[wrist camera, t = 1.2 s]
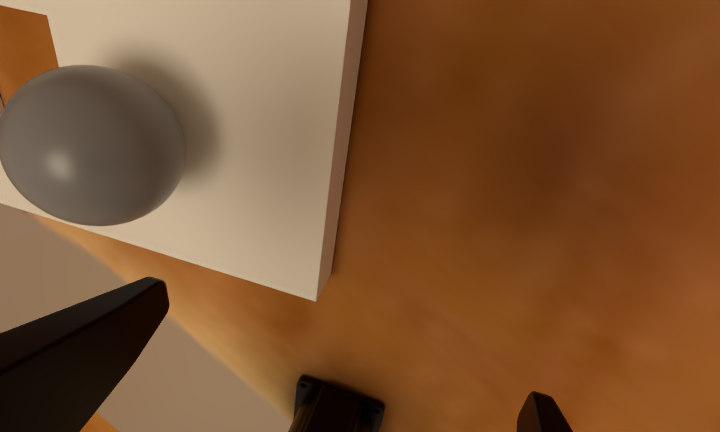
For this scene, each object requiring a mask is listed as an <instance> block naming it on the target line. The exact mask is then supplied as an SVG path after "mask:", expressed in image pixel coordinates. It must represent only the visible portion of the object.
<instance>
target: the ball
mask: <svg viewBox="0 0 720 432" xmlns="http://www.w3.org/2000/svg"><path fill="white" fill-rule="evenodd" d="M185 160H186V145H185V138H184V135H183V131H182V128H181V126H180V123H179V121H178V119H177V117H176V115H175V114H174V112H173V110H172V109H171V108H170V106H169V105H168V104H167V102H166V101H165V100H164V99H163V98H162V97H161V96H160V95H159V94H158V93H157V92H156V91H155V90H153V89H152V88H151V87H150V86H148V85H147V84H145V83H144V82H142V81H140V80H139V79H137V78H135V77H133V76H131V75H129V74H126V73H124V72H121V71H118V70H115V69H112V68H107V67H102V66H96V65H70V66H64V67H58V68H55V69H51V70H48V71H46V72H44V73H41V74H39V75H37V76H35V77H33V78H32V79H30V80H29V81H28V82H26V83H25V84H23V85H22V86H21V87H19V88H18V90H17V91H16V92H15V93H14V94H13V95H12V96H11V98H10V99H9V100H8V102H7V104H6V105H5V107H4V109H3V111H2V113H1V116H0V161H1V164H2V167H3V169H4V171H5V173H6V175H7V177H8V178H9V180H10V181H11V183H12V184H13V186H14V187H15V188H16V189H17V190H18V192H19V193H20V194H21V195H22V196H23V197H24V198H26V199H27V200H28V201H29V202H30V203H32V204H33V205H35V206H36V207H37V208H39V209H40V210H42V211H44V212H45V213H47V214H49V215H51V216H54V217H56V218H59V219H61V220H64V221H67V222H71V223H75V224H80V225H86V226H114V225H119V224H124V223H128V222H131V221H134V220H136V219H139V218H142V217H144V216H146V215H147V214H149V213H151V212H153V211H154V210H156V209H157V208H158V207H159V206H161V205H162V204H163V203H164V202H165V201H166V200H167V199H168V198H169V197H170V196H171V194H172V193H173V192H174V190H175V189H176V187H177V185H178V184H179V181H180V179H181V177H182V174H183V171H184V167H185Z"/></svg>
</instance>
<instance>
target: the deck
mask: <svg viewBox="0 0 720 432" xmlns="http://www.w3.org/2000/svg"><path fill="white" fill-rule="evenodd" d="M367 4H368V0H0V5H2V6H7V7H12V8H16V9H21V10H25V11H30V12H34V13H39V14H44V15H47V17H48V21H49V26H50V30H51V34H52V38H53V43H54V47H55V51H56V55H57V60H58V64H59V67H64V66H70V65H96V66H102V67H107V68H112V69H115V70H118V71H121V72H124V73H126V74H129V75H131V76H133V77H135V78H137V79H139V80H140V81H142V82H144V83H145V84H147V85H148V86H150V87H151V88H152V89H153V90H155V91H156V92H157V93H158V94H159V95H160V96H161V97H162V98H163V99H164V100H165V101H166V102H167V104H168V105H169V106H170V108H171V109H172V110H173V112H174V114H175V115H176V117H177V119H178V121H179V123H180V126H181V128H182V131H183V135H184V138H185V145H186V160H185V167H184V171H183V174H182V177H181V179H180V181H179V184H178V185H177V187H176V189H175V190H174V192H173V193H172V194H171V196H170V197H169V198H168V199H167V200H166V201H165V202H164V203H163V204H162V205H161V206H159V207H158V208H157V209H156V210H154V211H153V212H151V213H149V214H147V215H146V216H144V217H142V218H139V219H136V220H134V221H131V222H128V223H124V224H119V225H114V226H86V225H80V224H75V223H71V222H67V221H64V220H61V219H59V218H56V217H54V216H51V215H49V214H47V213H45V212H44V211H42V210H40V209H39V208H37V207H36V206H35V205H33V204H32V203H30V202H29V201H28V200H27V199H26V198H24V197H23V196H22V195H21V194H20V193H19V192H18V190H17V189H16V188H15V187H14V186H13V184H12V183H11V181H10V180H9V178H8V177H7V175H6V173H5V171H4V169H3V167H2V164H1V161H0V203H2V204H5V205H8V206H12V207H15V208H18V209H21V210H24V211H28V212H31V213H34V214H37V215H40V216H44V217H47V218H50V219H53V220H56V221H59V222H63V223H66V224H69V225H72V226H75V227H79V228H82V229H85V230H88V231H91V232H95V233H98V234H101V235H104V236H107V237H111V238H114V239H117V240H120V241H123V242H127V243H130V244H133V245H136V246H139V247H143V248H146V249H149V250H152V251H155V252H159V253H162V254H165V255H168V256H171V257H175V258H178V259H181V260H184V261H187V262H191V263H194V264H197V265H200V266H203V267H207V268H210V269H213V270H216V271H219V272H223V273H226V274H229V275H232V276H235V277H239V278H242V279H245V280H248V281H251V282H255V283H258V284H261V285H264V286H267V287H271V288H274V289H277V290H280V291H283V292H287V293H290V294H293V295H296V296H299V297H302V298H306V299H309V300H312V301H315V302H316V300H317V299H318V297H319V295H320V293H321V291H322V290H323V288H324V286H325V284H326V282H327V281H328V279H329V277H330V275H331V270H332V262H333V255H334V248H335V240H336V233H337V225H338V218H339V211H340V203H341V196H342V189H343V181H344V174H345V166H346V159H347V152H348V144H349V137H350V130H351V122H352V115H353V107H354V100H355V93H356V85H357V78H358V70H359V63H360V56H361V48H362V41H363V34H364V26H365V19H366V11H367ZM3 109H4V107H3V103H2V100H1V97H0V116H1V113H2V111H3Z"/></svg>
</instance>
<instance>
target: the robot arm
mask: <svg viewBox="0 0 720 432" xmlns="http://www.w3.org/2000/svg"><path fill="white" fill-rule="evenodd" d="M168 309H169V298H168V293H167V287H166V283H165V282H164V281H163V280H160V279H157V278H154V277H146V278H143V279H140V280H138V281H135V282H133V283H130V284H127V285H125V286H122V287H120V288H117V289H114V290H112V291H110V292H107V293H104V294H101V295H99V296H96V297H94V298H91V299H88V300H86V301H83V302H81V303H78V304H75V305H73V306H71V307H68V308H65V309H62V310H60V311H57V312H55V313H52V314H50V315H47V316H44V317H42V318H39V319H37V320H34V321H32V322H29V323H26V324H23V325H21V326H19V327H16V328H13V329H11V330H8V331H6V332H3V333H0V432H80V430H81V429H82V428H83V427H84V425H85V424H86V423H87V422H88V420H89V419H90V418H91V417H92V415H93V414H94V413H95V412H96V410H97V409H98V408H99V407H100V405H101V404H102V403H103V402H104V400H105V399H106V398H107V397H108V395H109V394H110V393H111V392H112V390H113V389H114V388H115V387H116V385H117V384H118V383H119V382H120V380H121V379H122V378H123V377H124V375H125V374H126V373H127V371H128V370H129V369H130V368H131V366H132V365H133V364H134V362H135V361H136V359H137V358H138V357H139V355H140V354H141V352H142V350H143V349H144V348H145V346H146V344H147V343H148V341H149V340H150V338H151V337H152V335H153V334H154V332H155V331H156V329H157V328H158V326H159V325H160V323H161V321H162V320H163V319H164V317H165V315H166V314H167V312H168ZM384 411H385V406H384V405H383V404H382V403H380V402H378V401H375V400H372V399H369V398H366V397H363V396H360V395H357V394H355V393H352V392H349V391H346V390H343V389H340V388H337V387H334V386H331V385H329V384H326V383H323V382H320V381H317V380H314V379H311V378H308V377H305V376H301V377H300V378H299V380H298V382H297V389H296V400H295V410H294V420H293V422H292V425H291V427H290V429H289V431H288V432H379V428H380V425H381V421H382V418H383V414H384ZM517 432H573V430H572V429H571V427H570V425H569V424H568V422H567V421H566V419H565V417H564V416H563V414H562V412H561V411H560V409H559V407H558V406H557V404H556V402H555V401H554V399H553V398H552V397H551V396H549V395H546V394H542V393H539V392H536V391H532V392H531V393H530V394H529V395H528V397H527V399H526V401H525V403H524V405H523V407H522V409H521V411H520V413H519V416H518V420H517Z"/></svg>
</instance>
